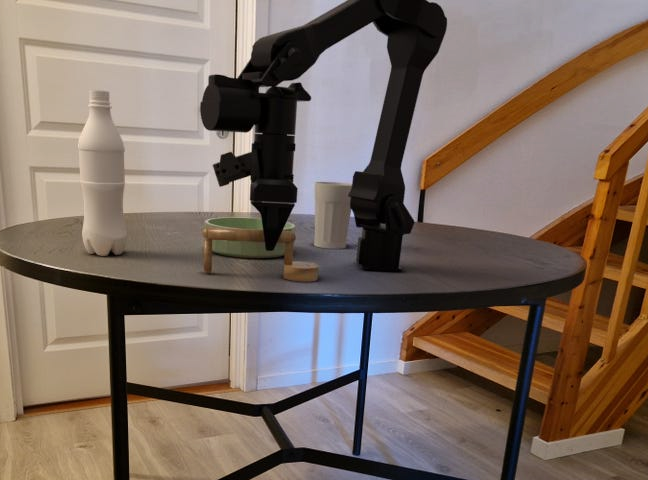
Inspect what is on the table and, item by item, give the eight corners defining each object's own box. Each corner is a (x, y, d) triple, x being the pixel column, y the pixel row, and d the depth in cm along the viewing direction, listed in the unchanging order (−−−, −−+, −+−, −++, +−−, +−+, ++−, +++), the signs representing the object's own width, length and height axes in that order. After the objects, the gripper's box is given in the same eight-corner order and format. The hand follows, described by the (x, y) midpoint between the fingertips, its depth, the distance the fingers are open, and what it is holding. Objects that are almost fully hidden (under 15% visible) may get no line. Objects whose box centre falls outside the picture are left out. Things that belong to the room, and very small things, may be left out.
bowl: (290, 245, 120) (292, 219, 119) (295, 261, 105) (297, 232, 104) (208, 241, 120) (208, 215, 118) (201, 256, 105) (201, 227, 103)
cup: (336, 251, 117) (342, 185, 113) (302, 245, 122) (306, 182, 118) (357, 246, 123) (363, 184, 119) (323, 241, 128) (328, 181, 124)
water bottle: (73, 252, 102) (64, 88, 93) (105, 247, 108) (100, 92, 99) (105, 259, 98) (98, 89, 90) (136, 253, 104) (133, 93, 96)
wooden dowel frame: (200, 277, 90) (200, 229, 88) (203, 269, 95) (203, 224, 93) (319, 282, 91) (322, 235, 88) (315, 275, 96) (319, 230, 93)
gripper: (220, 131, 94) (218, 234, 100) (212, 130, 77) (210, 255, 82) (292, 135, 95) (286, 237, 100) (301, 135, 77) (293, 259, 83)
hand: (269, 246), depth 91 cm, fingers open, 7 cm apart
